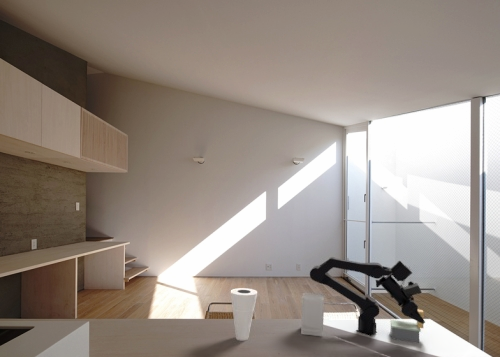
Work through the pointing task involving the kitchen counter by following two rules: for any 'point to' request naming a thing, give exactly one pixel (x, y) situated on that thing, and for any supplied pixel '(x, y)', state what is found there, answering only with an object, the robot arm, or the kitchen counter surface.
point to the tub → (405, 335)
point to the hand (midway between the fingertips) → (422, 319)
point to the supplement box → (312, 314)
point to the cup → (243, 310)
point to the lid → (408, 324)
